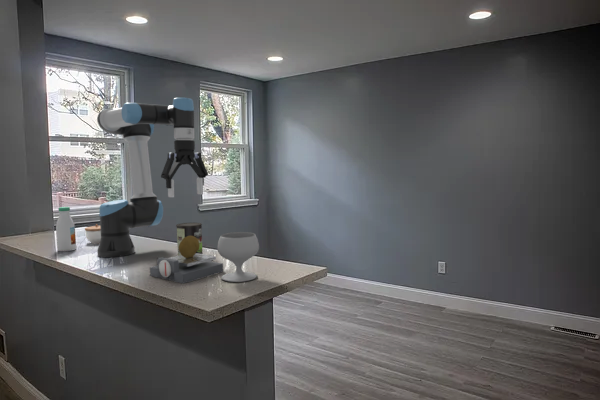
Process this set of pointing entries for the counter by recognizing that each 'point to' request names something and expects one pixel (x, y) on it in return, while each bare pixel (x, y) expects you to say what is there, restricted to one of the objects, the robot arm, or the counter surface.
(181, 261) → the platform
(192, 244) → the potato
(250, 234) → the chalice
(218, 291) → the counter surface
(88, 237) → the lidded jar
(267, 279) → the counter surface
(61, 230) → the milk bottle
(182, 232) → the coffee can
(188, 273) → the scale base
